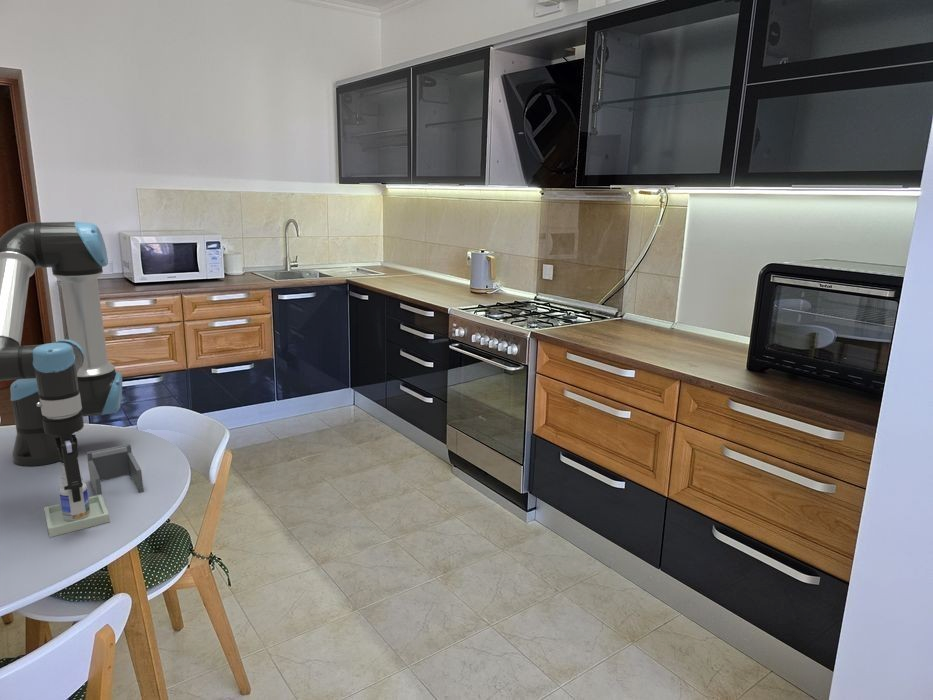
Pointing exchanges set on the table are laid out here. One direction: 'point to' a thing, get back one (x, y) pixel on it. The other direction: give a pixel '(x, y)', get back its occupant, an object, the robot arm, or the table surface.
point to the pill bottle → (66, 505)
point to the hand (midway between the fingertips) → (74, 500)
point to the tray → (62, 526)
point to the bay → (113, 466)
